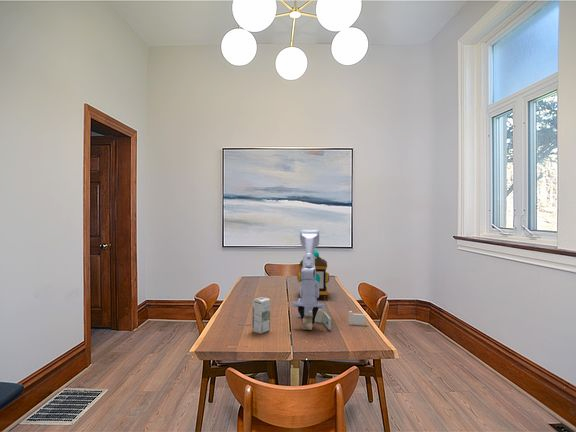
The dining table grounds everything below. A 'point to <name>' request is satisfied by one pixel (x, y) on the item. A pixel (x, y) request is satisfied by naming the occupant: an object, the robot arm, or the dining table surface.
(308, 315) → the birch block
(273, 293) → the dining table surface
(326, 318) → the door
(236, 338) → the dining table surface
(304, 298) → the robot arm
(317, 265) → the decorative lantern
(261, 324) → the syrup box
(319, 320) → the wall frame
